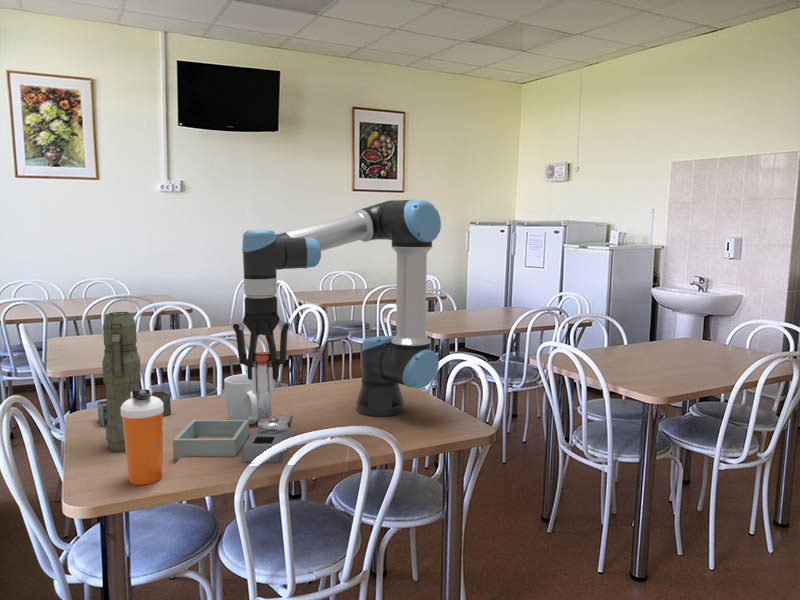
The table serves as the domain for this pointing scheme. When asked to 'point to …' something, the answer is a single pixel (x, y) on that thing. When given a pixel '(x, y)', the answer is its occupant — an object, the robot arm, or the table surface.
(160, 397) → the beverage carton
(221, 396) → the table surface
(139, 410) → the shaker bottle
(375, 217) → the robot arm
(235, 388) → the mug
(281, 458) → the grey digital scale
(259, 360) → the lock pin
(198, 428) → the rectangular frame
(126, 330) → the thermos
